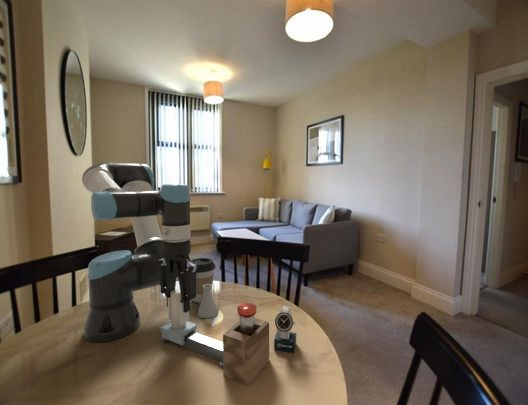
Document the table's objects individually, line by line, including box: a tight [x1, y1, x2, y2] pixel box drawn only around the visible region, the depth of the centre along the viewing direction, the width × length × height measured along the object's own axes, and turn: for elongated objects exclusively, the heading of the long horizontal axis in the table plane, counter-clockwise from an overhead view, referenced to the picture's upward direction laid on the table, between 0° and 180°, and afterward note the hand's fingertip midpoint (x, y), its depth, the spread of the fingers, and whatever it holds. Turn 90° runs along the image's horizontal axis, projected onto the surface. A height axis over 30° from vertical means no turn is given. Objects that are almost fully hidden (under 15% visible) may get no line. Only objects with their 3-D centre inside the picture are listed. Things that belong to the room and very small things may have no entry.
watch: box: [273, 305, 297, 354], centre depth 72 cm, size 6×8×11 cm
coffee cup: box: [190, 257, 216, 304], centre depth 102 cm, size 11×11×15 cm
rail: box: [160, 331, 223, 368], centre depth 72 cm, size 22×6×3 cm, turn 62°
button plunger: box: [237, 302, 257, 336], centre depth 64 cm, size 5×5×6 cm
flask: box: [197, 284, 219, 319], centre depth 90 cm, size 7×7×10 cm
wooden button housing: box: [222, 317, 270, 387], centre depth 64 cm, size 7×10×10 cm
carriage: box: [160, 288, 198, 346], centre depth 75 cm, size 8×6×13 cm
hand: (178, 319), depth 75 cm, fingers closed on carriage, 4 cm apart
